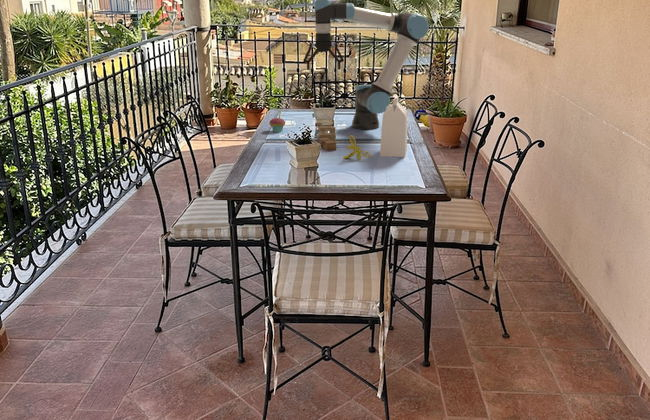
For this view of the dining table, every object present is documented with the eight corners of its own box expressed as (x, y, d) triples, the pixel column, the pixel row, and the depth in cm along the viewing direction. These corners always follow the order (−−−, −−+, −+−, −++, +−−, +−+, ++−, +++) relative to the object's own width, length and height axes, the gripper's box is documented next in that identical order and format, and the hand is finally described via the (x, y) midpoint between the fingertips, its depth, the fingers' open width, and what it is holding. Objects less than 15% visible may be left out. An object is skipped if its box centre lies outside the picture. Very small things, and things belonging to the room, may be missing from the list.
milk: (404, 157, 262) (408, 100, 253) (379, 155, 264) (382, 98, 255) (406, 150, 273) (410, 95, 264) (382, 149, 275) (384, 94, 266)
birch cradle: (319, 136, 299) (319, 126, 297) (335, 136, 299) (335, 126, 297) (319, 144, 283) (319, 134, 281) (335, 144, 283) (335, 134, 281)
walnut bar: (318, 146, 281) (318, 138, 279) (326, 145, 282) (326, 137, 281) (327, 151, 271) (327, 143, 270) (336, 150, 273) (336, 142, 271)
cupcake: (286, 129, 313) (286, 107, 308) (284, 133, 305) (283, 110, 301) (271, 129, 313) (270, 107, 309) (268, 132, 306) (267, 110, 301)
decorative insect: (357, 169, 261) (371, 154, 256) (355, 171, 259) (369, 156, 253) (337, 148, 262) (351, 133, 257) (335, 150, 259) (349, 135, 254)
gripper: (297, 33, 279) (298, 77, 287) (349, 32, 280) (348, 77, 287) (297, 32, 286) (299, 75, 294) (347, 31, 287) (347, 74, 294)
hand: (323, 76), depth 291 cm, fingers open, 13 cm apart
